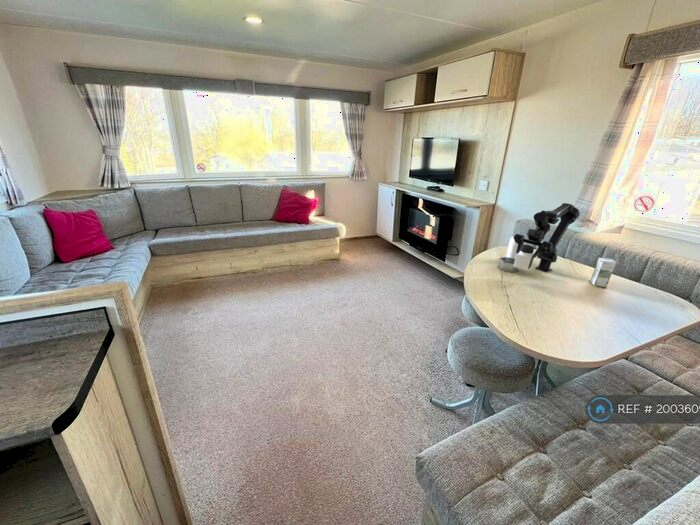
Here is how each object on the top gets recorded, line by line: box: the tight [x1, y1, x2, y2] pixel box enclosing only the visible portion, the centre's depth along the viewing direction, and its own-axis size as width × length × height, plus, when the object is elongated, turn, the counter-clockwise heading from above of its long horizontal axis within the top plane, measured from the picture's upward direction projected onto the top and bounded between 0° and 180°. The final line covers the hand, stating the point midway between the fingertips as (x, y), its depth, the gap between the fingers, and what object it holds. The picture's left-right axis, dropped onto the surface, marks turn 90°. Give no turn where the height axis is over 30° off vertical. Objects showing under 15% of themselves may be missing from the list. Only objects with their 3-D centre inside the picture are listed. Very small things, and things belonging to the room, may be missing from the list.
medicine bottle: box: [514, 243, 535, 271], centre depth 162 cm, size 7×7×12 cm
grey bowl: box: [497, 256, 519, 273], centre depth 181 cm, size 10×10×5 cm
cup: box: [506, 236, 526, 259], centre depth 193 cm, size 8×8×14 cm
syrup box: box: [589, 257, 617, 288], centre depth 163 cm, size 6×6×14 cm
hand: (524, 255), depth 161 cm, fingers closed on medicine bottle, 8 cm apart
